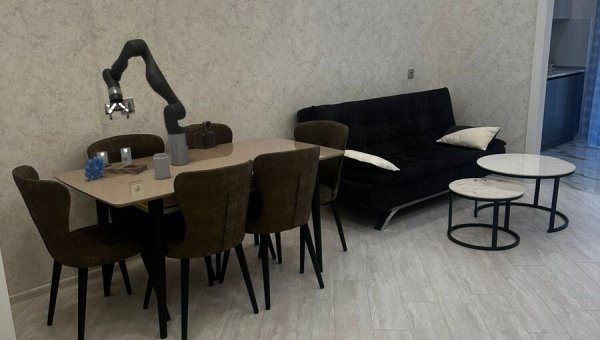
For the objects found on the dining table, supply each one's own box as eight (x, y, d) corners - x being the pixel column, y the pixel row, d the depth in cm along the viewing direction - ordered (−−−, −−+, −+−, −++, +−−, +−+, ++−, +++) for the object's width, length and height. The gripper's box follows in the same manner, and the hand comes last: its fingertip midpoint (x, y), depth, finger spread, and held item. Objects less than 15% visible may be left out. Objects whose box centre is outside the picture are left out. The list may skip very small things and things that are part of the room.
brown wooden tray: (147, 170, 272) (146, 164, 271) (137, 175, 262) (136, 169, 261) (100, 170, 278) (99, 164, 277) (88, 175, 267) (87, 168, 267)
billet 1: (111, 170, 273) (108, 151, 271) (105, 172, 268) (103, 153, 266) (102, 169, 274) (100, 151, 272) (97, 172, 269) (94, 153, 267)
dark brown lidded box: (193, 148, 330) (190, 120, 325) (205, 145, 338) (203, 118, 334) (210, 150, 321) (207, 121, 317) (222, 146, 329) (220, 119, 325)
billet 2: (134, 165, 284) (131, 147, 282) (129, 167, 280) (127, 149, 277) (125, 165, 285) (123, 147, 283) (121, 167, 281) (118, 149, 278)
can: (173, 177, 255) (171, 153, 252) (160, 180, 250) (158, 156, 247) (165, 175, 260) (162, 151, 257) (152, 178, 255) (149, 154, 252)
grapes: (101, 176, 263) (98, 153, 260) (109, 178, 259) (106, 154, 257) (80, 182, 254) (77, 158, 251) (89, 183, 250) (85, 159, 247)
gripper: (102, 93, 289) (106, 115, 281) (128, 91, 294) (133, 113, 287) (103, 101, 295) (106, 124, 287) (128, 100, 300) (133, 121, 293)
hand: (119, 118), depth 287 cm, fingers open, 8 cm apart
